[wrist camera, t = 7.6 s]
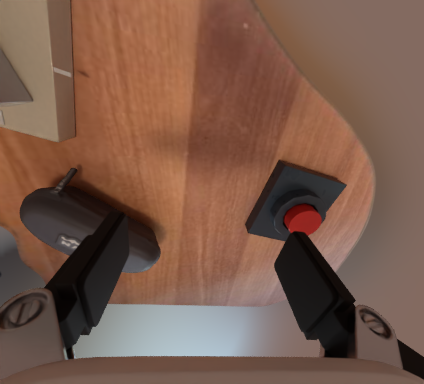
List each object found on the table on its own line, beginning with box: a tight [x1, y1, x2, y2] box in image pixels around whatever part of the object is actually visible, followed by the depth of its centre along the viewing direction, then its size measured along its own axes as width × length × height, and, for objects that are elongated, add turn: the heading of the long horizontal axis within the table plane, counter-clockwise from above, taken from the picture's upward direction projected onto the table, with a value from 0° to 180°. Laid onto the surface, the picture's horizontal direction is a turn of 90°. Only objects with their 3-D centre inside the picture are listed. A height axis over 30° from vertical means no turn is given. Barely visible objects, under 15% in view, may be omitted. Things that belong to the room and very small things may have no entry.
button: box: [284, 204, 322, 235], centre depth 24 cm, size 4×4×2 cm
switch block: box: [245, 160, 347, 241], centre depth 26 cm, size 12×10×4 cm
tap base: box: [0, 0, 76, 142], centre depth 16 cm, size 14×13×3 cm
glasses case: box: [20, 168, 161, 273], centre depth 25 cm, size 18×10×8 cm, turn 50°
